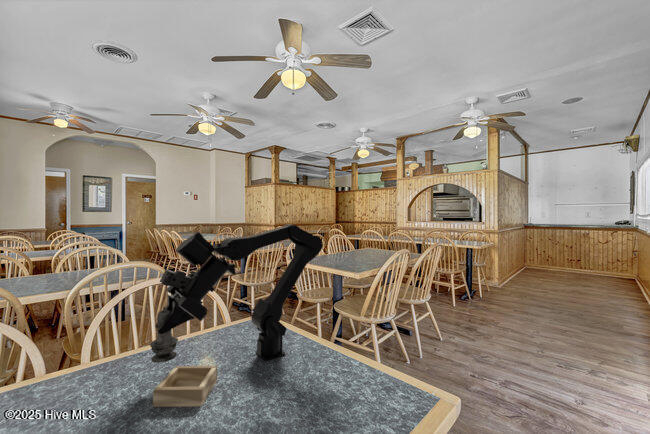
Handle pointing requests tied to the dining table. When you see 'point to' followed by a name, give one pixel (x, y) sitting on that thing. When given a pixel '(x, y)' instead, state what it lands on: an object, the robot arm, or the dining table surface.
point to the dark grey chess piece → (163, 341)
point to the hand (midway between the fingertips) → (157, 330)
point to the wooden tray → (185, 386)
